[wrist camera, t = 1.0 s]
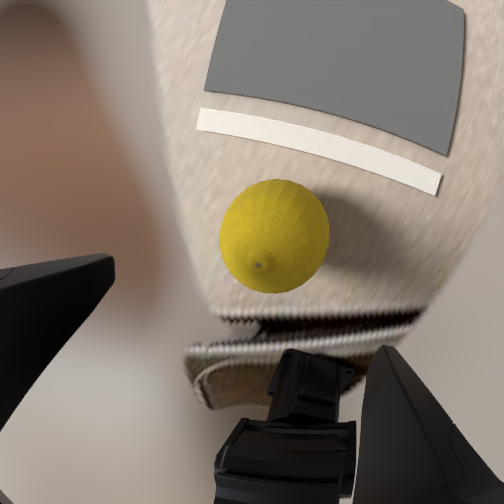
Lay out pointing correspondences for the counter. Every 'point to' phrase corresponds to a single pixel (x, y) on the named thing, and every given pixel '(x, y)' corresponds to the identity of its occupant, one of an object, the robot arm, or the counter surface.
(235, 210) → the lemon
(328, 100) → the mat
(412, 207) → the counter surface
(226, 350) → the counter surface
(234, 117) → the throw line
